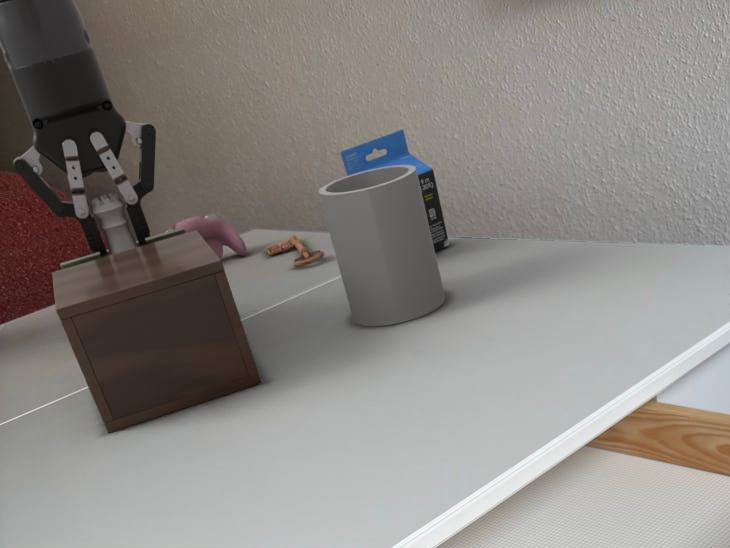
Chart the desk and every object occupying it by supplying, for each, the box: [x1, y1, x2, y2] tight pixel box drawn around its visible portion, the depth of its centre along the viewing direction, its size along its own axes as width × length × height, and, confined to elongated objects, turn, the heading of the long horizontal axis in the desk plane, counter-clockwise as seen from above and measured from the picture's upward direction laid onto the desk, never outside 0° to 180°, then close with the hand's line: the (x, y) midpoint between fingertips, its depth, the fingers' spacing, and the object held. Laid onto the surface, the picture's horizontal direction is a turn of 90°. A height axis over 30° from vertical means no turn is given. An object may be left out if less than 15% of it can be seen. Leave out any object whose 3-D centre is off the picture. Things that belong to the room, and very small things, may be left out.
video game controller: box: [164, 213, 248, 260], centre depth 138 cm, size 10×5×7 cm, turn 130°
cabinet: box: [51, 230, 263, 434], centre depth 98 cm, size 16×14×11 cm
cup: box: [318, 165, 446, 327], centre depth 103 cm, size 9×9×12 cm
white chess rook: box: [91, 193, 138, 255], centre depth 106 cm, size 4×4×8 cm
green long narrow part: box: [60, 228, 186, 270], centre depth 108 cm, size 20×13×9 cm, turn 20°
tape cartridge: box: [340, 129, 450, 252], centre depth 118 cm, size 9×4×12 cm, turn 132°
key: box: [265, 234, 325, 268], centre depth 133 cm, size 6×1×15 cm
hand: (123, 249), depth 107 cm, fingers closed on white chess rook, 3 cm apart
